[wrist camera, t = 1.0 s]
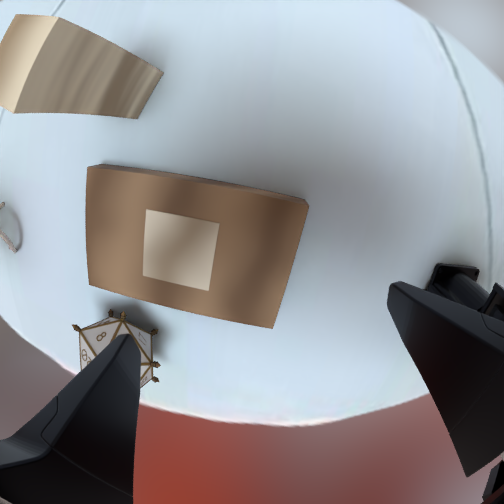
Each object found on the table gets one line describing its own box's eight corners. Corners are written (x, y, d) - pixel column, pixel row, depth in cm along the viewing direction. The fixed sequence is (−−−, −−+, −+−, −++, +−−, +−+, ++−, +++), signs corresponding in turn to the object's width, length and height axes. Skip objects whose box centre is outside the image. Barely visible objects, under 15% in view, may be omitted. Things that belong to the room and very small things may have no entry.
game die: (133, 316, 28) (64, 358, 22) (131, 270, 23) (37, 321, 16) (184, 377, 26) (111, 429, 19) (195, 347, 20) (93, 419, 13)
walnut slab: (304, 199, 19) (309, 206, 17) (272, 314, 23) (272, 329, 21) (101, 163, 18) (86, 167, 16) (99, 274, 22) (88, 285, 20)
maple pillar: (163, 72, 16) (59, 17, 4) (137, 119, 17) (13, 113, 6) (124, 57, 15) (16, 14, 4) (100, 101, 16) (-20, 93, 5)
